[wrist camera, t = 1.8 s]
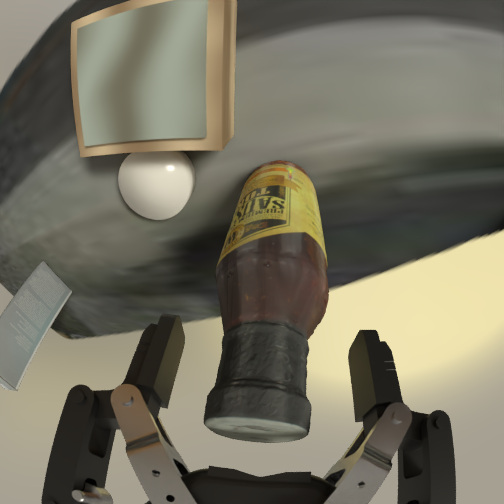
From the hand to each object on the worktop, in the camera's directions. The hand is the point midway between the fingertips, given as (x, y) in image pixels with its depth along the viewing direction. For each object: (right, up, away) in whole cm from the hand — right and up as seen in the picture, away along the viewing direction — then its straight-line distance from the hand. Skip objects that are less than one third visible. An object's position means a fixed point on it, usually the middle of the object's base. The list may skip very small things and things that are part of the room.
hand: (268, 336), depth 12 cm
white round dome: (-9, +11, +13) cm, 19 cm away
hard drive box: (-38, -3, +26) cm, 46 cm away
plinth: (-8, +19, +6) cm, 21 cm away
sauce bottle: (+2, +9, +12) cm, 16 cm away
